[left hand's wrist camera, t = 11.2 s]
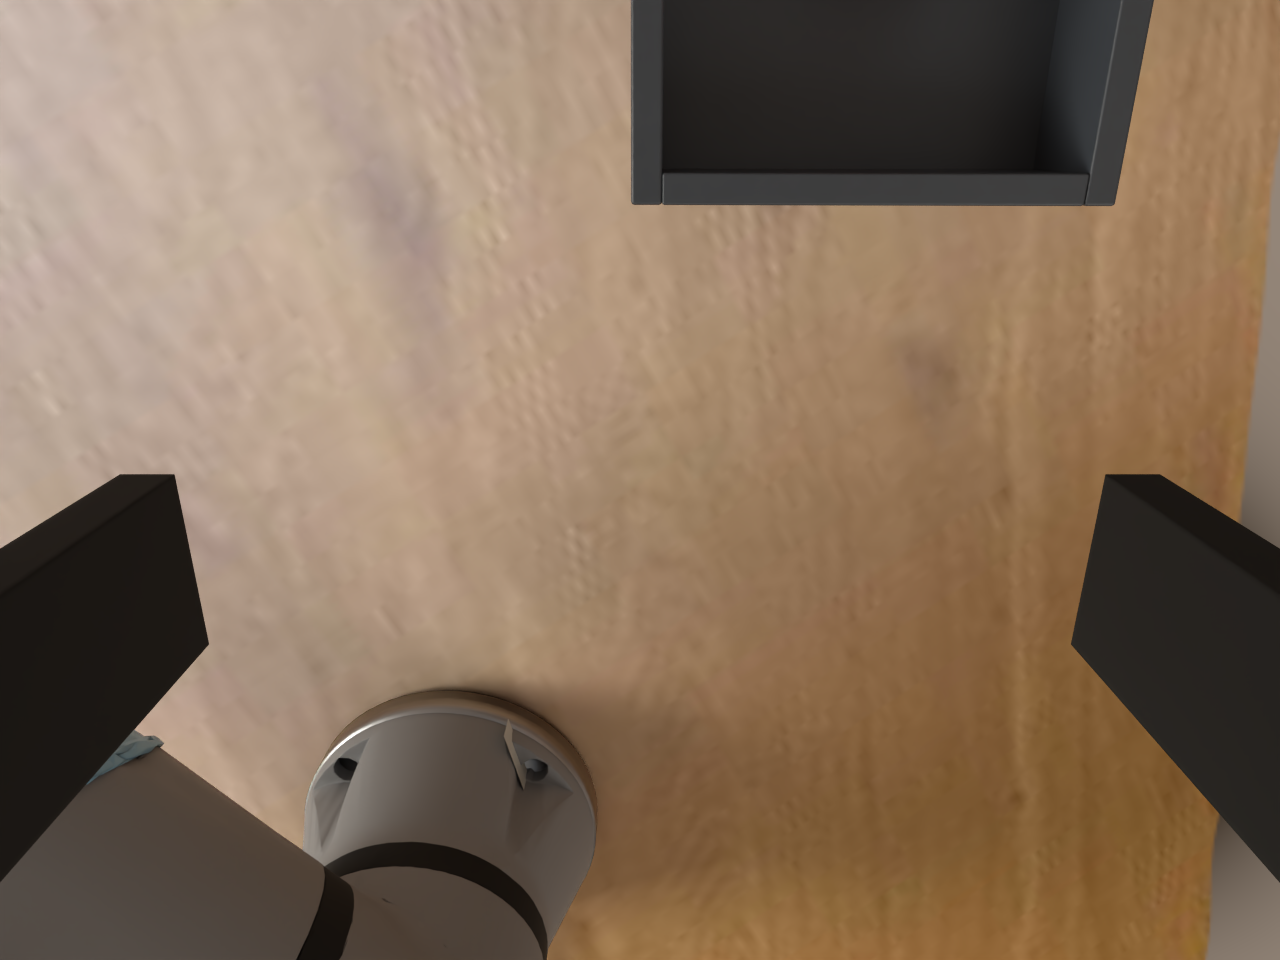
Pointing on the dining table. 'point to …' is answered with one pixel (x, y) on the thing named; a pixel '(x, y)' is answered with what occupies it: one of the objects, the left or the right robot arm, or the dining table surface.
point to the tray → (882, 101)
